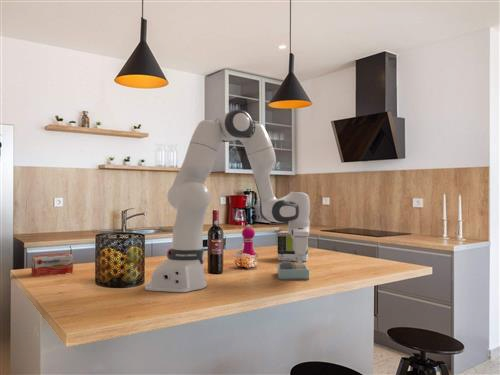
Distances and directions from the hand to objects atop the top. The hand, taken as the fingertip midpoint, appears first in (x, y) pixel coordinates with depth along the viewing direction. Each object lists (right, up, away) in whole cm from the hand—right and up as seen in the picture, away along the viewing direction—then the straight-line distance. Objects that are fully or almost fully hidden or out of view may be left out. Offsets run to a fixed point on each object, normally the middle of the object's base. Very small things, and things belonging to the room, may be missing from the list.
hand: (298, 263), depth 170 cm
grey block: (-5, -5, +4) cm, 8 cm away
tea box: (+2, -6, +44) cm, 44 cm away
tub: (-2, -6, +2) cm, 6 cm away
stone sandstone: (0, -5, 0) cm, 5 cm away
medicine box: (-105, -6, +5) cm, 105 cm away
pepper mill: (-21, -6, +22) cm, 31 cm away
